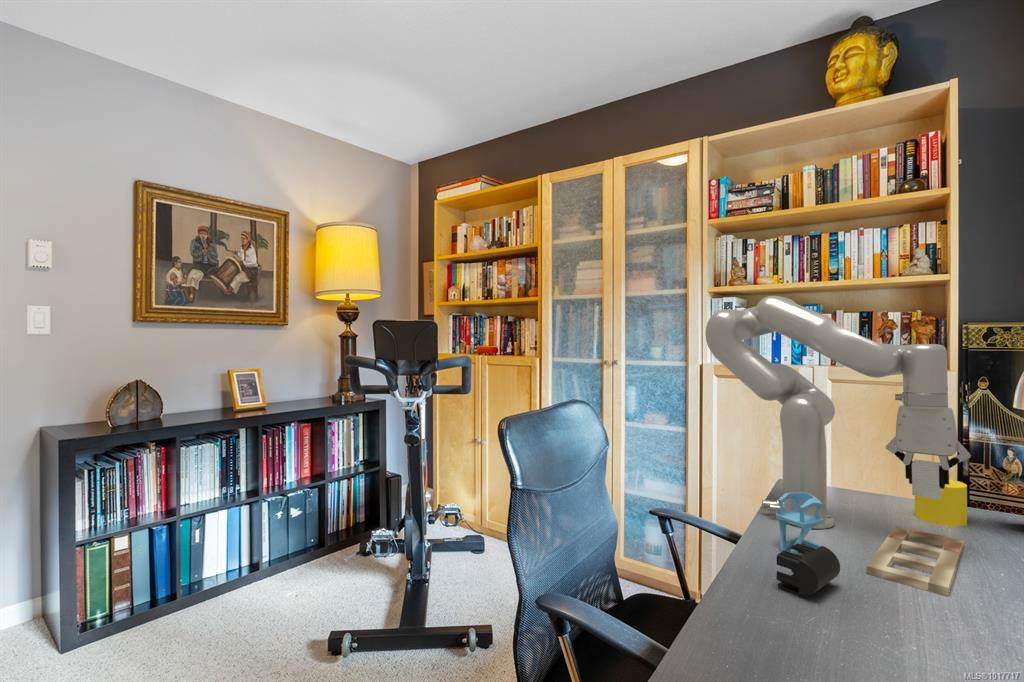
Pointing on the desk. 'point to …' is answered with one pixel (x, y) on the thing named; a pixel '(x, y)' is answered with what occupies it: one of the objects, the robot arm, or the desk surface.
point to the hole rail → (918, 559)
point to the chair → (798, 519)
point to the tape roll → (944, 506)
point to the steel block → (926, 479)
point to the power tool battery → (807, 569)
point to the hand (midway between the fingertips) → (927, 484)
